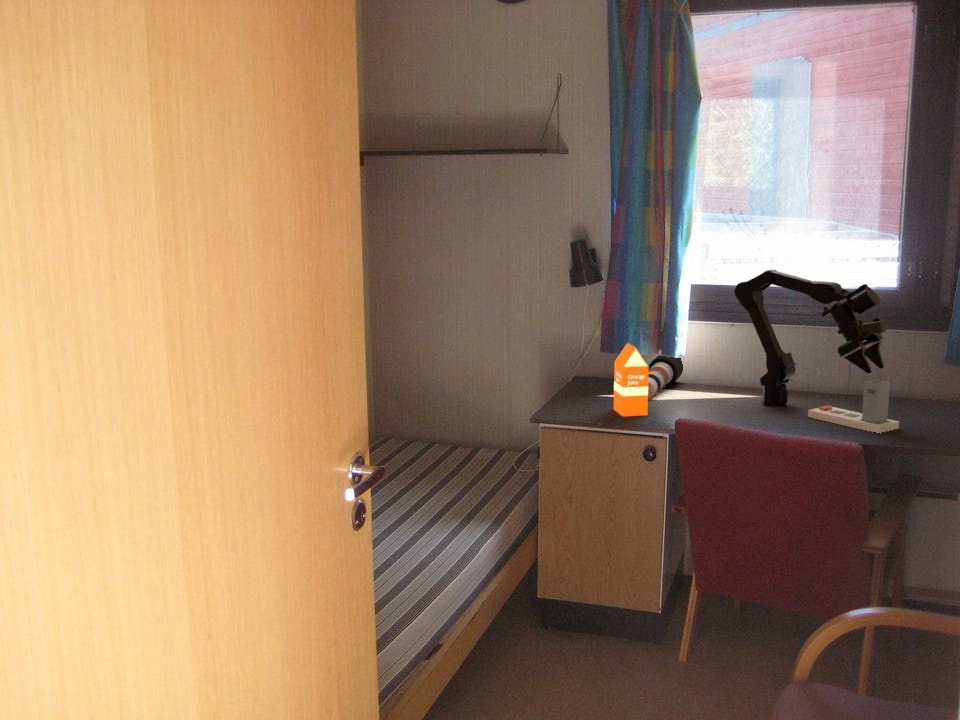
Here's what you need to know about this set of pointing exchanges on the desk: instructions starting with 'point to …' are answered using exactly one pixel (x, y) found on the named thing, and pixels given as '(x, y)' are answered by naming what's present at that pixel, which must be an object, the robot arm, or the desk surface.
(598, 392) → the desk surface
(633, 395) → the orange juice
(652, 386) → the telephoto camera lens
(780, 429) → the desk surface
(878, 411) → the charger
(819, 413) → the power strip
